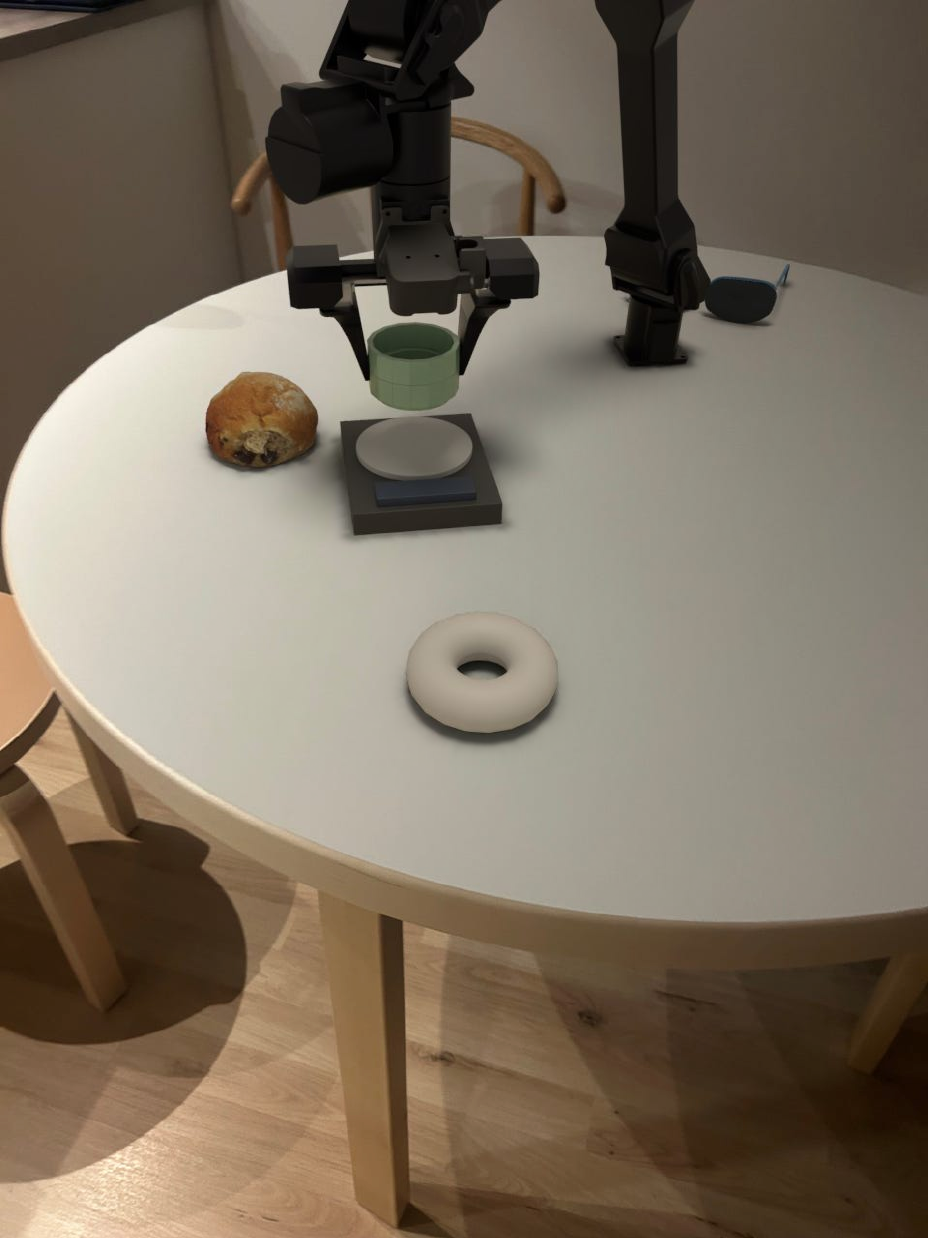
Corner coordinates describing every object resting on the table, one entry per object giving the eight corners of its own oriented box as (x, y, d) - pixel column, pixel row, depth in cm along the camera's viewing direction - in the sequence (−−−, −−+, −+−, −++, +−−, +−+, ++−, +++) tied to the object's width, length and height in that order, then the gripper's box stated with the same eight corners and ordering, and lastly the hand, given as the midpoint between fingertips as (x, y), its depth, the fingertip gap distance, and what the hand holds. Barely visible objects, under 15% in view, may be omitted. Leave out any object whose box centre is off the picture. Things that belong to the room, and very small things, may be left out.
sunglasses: (620, 302, 113) (627, 258, 110) (648, 276, 125) (655, 236, 122) (768, 328, 108) (779, 283, 106) (783, 299, 120) (793, 257, 117)
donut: (543, 636, 68) (402, 640, 67) (548, 598, 66) (402, 602, 65) (567, 742, 60) (408, 747, 59) (573, 703, 58) (408, 708, 57)
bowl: (366, 375, 81) (363, 324, 79) (451, 370, 82) (451, 319, 80) (374, 416, 76) (371, 363, 73) (464, 411, 77) (466, 358, 74)
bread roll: (332, 471, 90) (346, 386, 88) (271, 479, 81) (285, 383, 78) (244, 447, 93) (255, 363, 91) (176, 451, 84) (186, 358, 81)
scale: (341, 440, 88) (339, 412, 86) (470, 431, 89) (471, 404, 87) (353, 535, 76) (352, 505, 75) (501, 523, 78) (503, 494, 76)
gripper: (279, 215, 61) (302, 432, 71) (565, 205, 63) (547, 417, 73) (276, 164, 69) (297, 365, 79) (529, 157, 72) (517, 353, 82)
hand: (413, 376), depth 78 cm, fingers closed on bowl, 7 cm apart
